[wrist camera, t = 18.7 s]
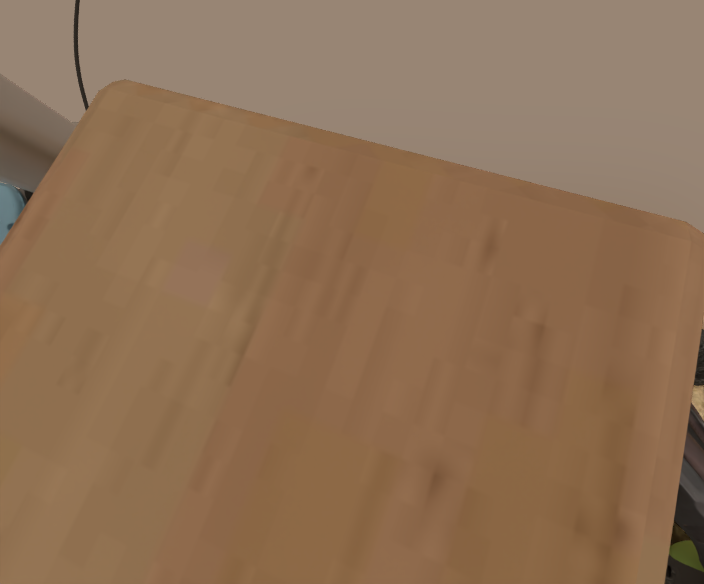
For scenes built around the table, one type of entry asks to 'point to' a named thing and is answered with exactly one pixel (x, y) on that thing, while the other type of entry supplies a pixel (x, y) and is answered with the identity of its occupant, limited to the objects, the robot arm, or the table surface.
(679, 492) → the loafer
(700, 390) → the table surface
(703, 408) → the table surface
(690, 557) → the teapot
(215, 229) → the wooden block
